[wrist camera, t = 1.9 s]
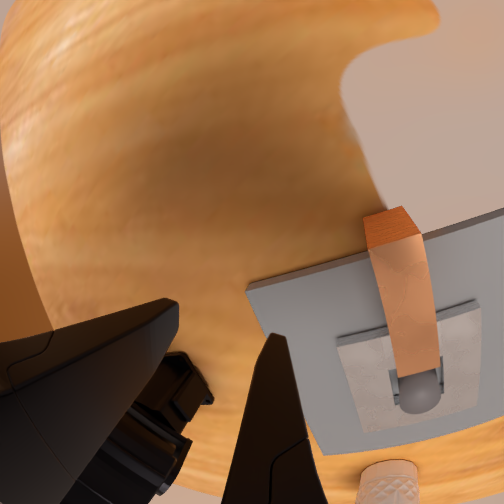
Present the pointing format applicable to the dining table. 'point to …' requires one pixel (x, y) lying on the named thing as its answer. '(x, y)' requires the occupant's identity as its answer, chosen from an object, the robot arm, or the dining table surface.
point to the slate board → (373, 317)
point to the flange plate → (409, 332)
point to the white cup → (389, 483)
